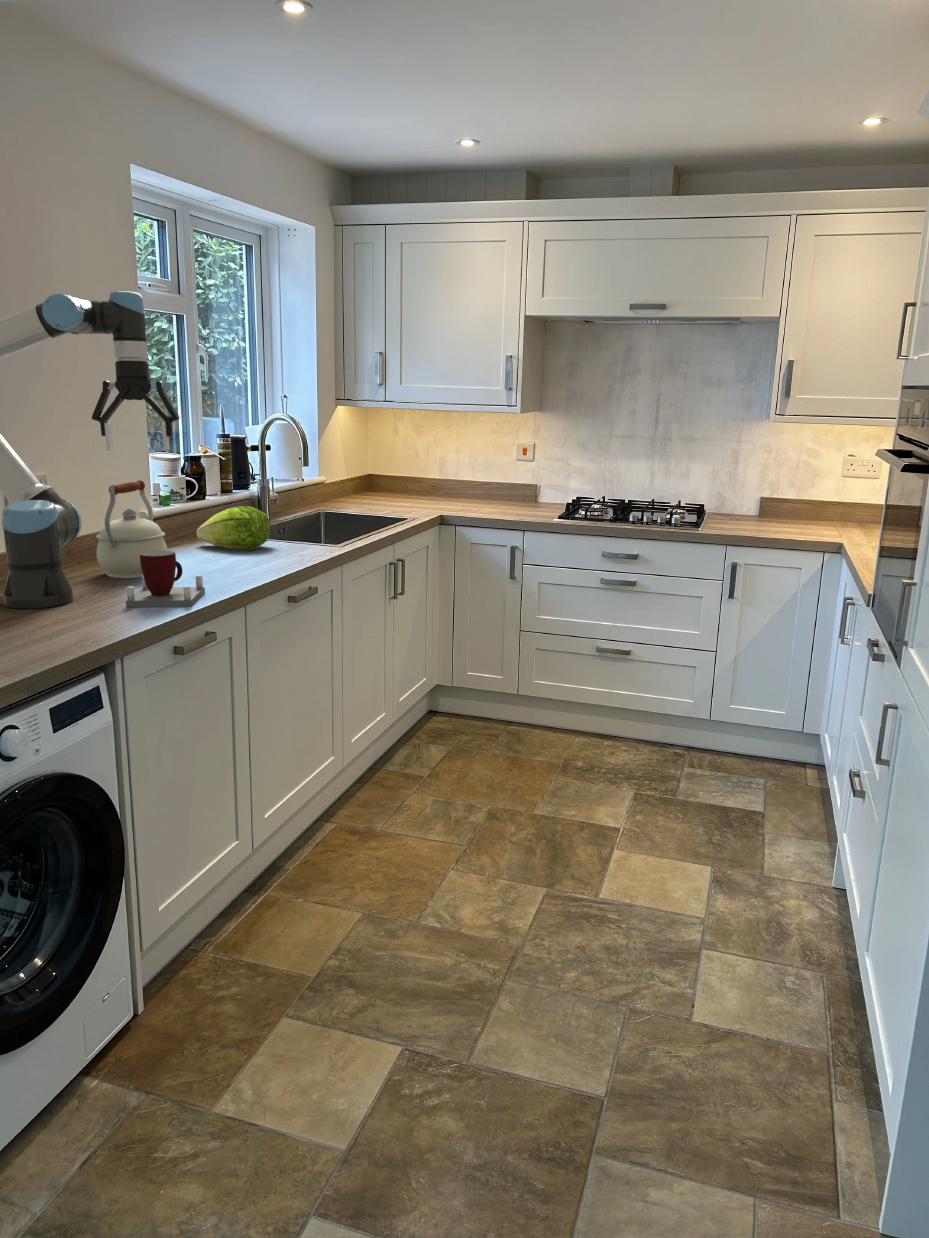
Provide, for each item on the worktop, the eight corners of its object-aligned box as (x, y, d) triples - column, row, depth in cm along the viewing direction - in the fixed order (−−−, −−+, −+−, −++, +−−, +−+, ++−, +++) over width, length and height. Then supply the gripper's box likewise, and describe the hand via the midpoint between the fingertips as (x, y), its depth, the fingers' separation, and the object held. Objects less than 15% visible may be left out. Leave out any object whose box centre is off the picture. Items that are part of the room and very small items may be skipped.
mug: (167, 587, 230) (164, 548, 227) (192, 591, 226) (190, 550, 224) (135, 596, 221) (132, 554, 218) (161, 599, 217) (158, 557, 215)
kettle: (143, 583, 243) (136, 487, 237) (80, 580, 246) (71, 485, 240) (189, 566, 266) (184, 478, 260) (131, 563, 270) (124, 477, 264)
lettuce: (213, 521, 308) (187, 503, 294) (278, 514, 300) (254, 496, 287) (209, 562, 304) (181, 546, 290) (274, 556, 296) (250, 539, 283)
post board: (126, 607, 216) (124, 588, 215) (143, 593, 231) (142, 575, 230) (191, 606, 217) (190, 587, 216) (204, 592, 232) (203, 575, 231)
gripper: (188, 361, 226) (193, 449, 232) (83, 360, 225) (91, 449, 230) (180, 360, 219) (186, 451, 224) (72, 359, 218) (81, 451, 223)
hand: (138, 450), depth 227 cm, fingers open, 13 cm apart
